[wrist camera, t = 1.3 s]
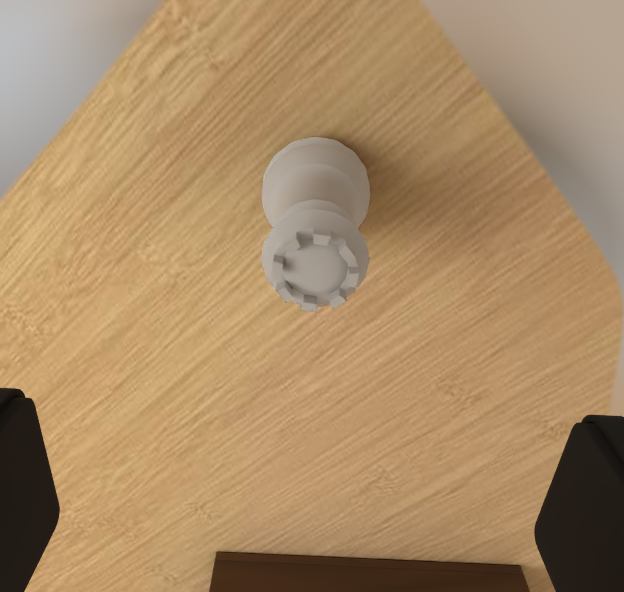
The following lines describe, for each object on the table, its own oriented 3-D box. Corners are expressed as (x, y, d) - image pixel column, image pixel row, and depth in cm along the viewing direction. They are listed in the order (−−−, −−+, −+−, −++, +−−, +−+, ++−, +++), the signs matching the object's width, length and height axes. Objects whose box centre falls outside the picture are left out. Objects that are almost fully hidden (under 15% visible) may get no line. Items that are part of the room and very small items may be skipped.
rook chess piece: (345, 250, 24) (357, 356, 17) (249, 218, 23) (219, 314, 16) (386, 156, 21) (419, 231, 14) (282, 116, 21) (263, 176, 14)
